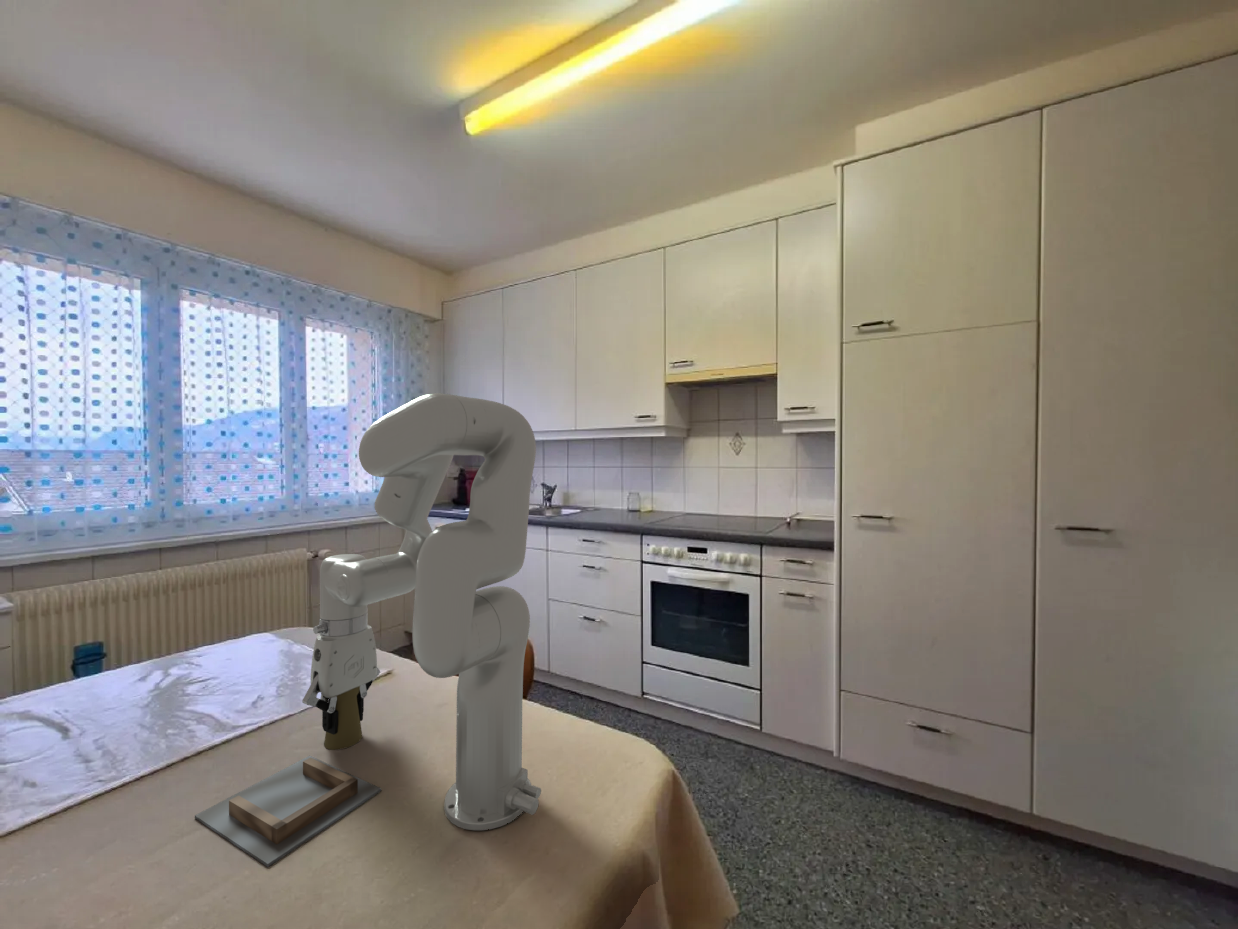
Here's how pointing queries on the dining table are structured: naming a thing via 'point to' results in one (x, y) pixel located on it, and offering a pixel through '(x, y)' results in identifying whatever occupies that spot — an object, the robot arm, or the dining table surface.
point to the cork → (346, 722)
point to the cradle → (287, 808)
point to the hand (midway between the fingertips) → (343, 724)
